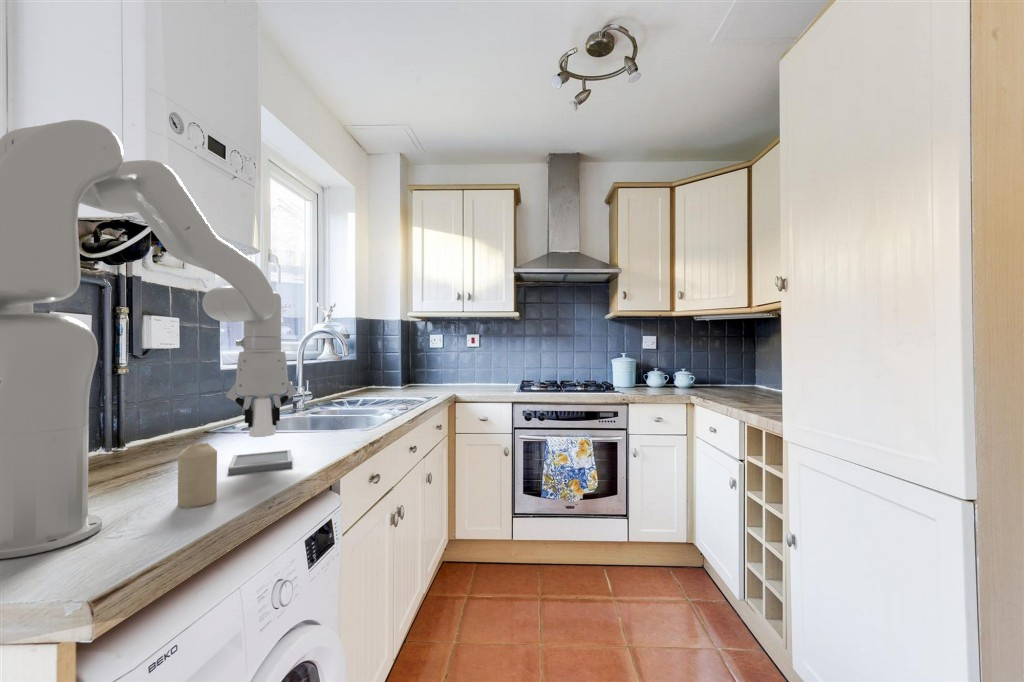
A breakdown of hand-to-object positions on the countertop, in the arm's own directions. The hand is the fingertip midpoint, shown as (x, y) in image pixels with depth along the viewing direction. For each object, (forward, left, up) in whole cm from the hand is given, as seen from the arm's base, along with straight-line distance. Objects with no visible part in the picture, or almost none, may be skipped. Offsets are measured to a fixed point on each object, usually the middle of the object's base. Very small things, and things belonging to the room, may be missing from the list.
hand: (262, 424), depth 102 cm
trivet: (0, 0, -9) cm, 9 cm away
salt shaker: (0, 0, -3) cm, 3 cm away
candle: (-9, -23, -9) cm, 26 cm away
